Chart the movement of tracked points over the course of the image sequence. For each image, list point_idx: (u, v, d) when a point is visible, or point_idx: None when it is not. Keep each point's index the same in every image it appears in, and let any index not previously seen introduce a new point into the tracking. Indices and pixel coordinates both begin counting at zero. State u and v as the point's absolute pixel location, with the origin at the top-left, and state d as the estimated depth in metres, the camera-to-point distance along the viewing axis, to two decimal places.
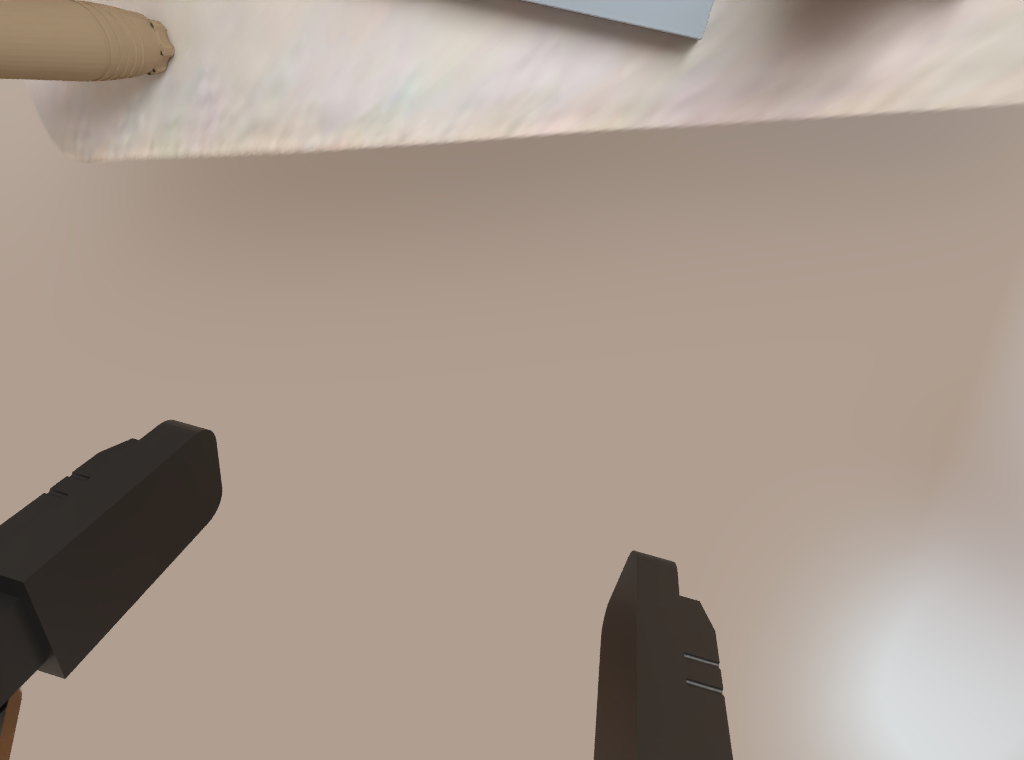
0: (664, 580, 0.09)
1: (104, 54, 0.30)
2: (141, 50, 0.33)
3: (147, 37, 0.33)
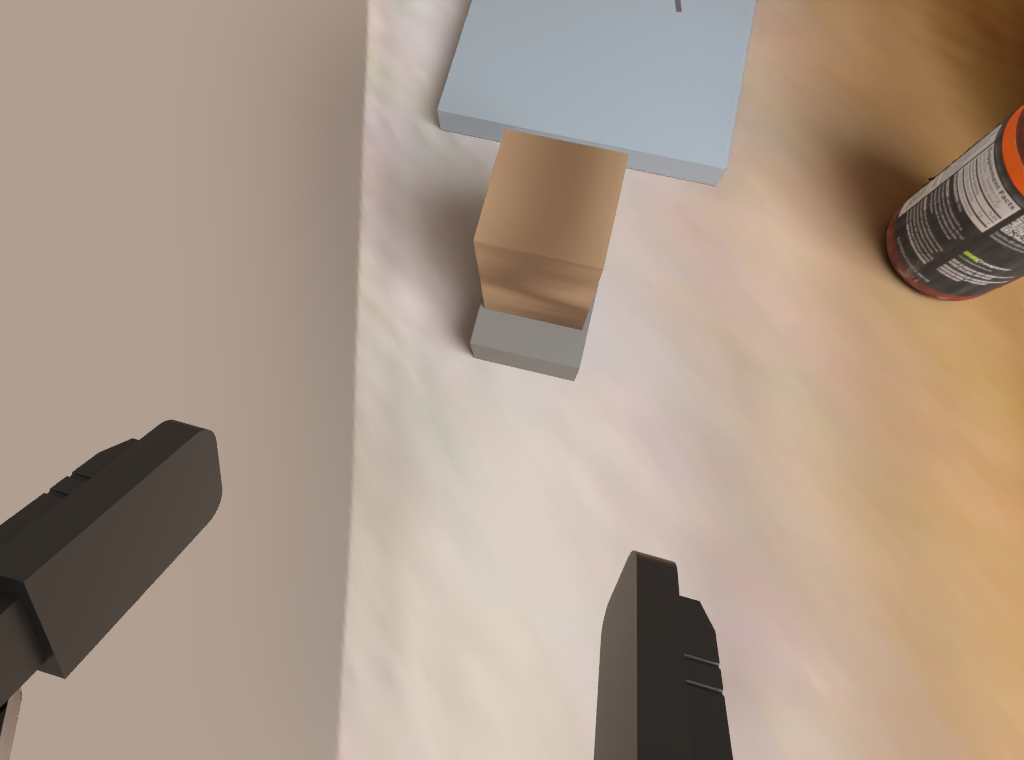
0: (664, 580, 0.09)
1: None
2: None
3: None
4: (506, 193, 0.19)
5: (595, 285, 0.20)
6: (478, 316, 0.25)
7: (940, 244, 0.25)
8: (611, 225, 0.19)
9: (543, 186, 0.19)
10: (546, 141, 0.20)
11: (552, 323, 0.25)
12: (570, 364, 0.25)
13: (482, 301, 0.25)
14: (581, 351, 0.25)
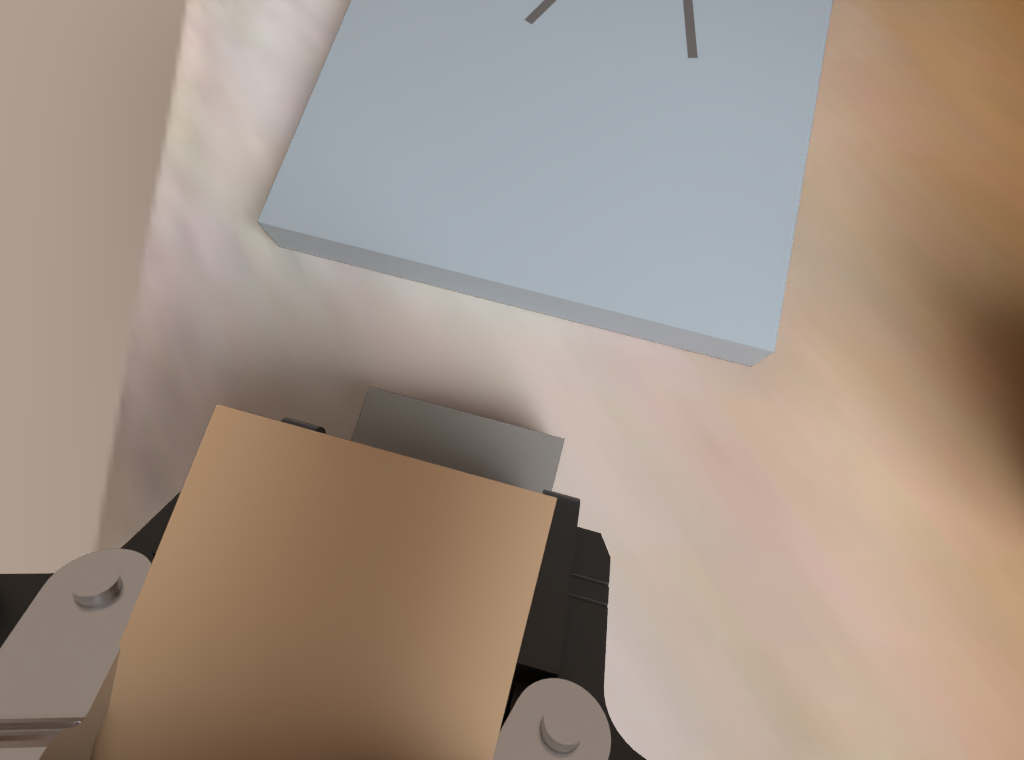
0: (565, 512, 0.10)
1: None
2: None
3: None
4: (188, 620, 0.07)
5: None
6: None
7: None
8: (490, 749, 0.06)
9: (300, 600, 0.07)
10: (327, 447, 0.07)
11: None
12: None
13: None
14: None
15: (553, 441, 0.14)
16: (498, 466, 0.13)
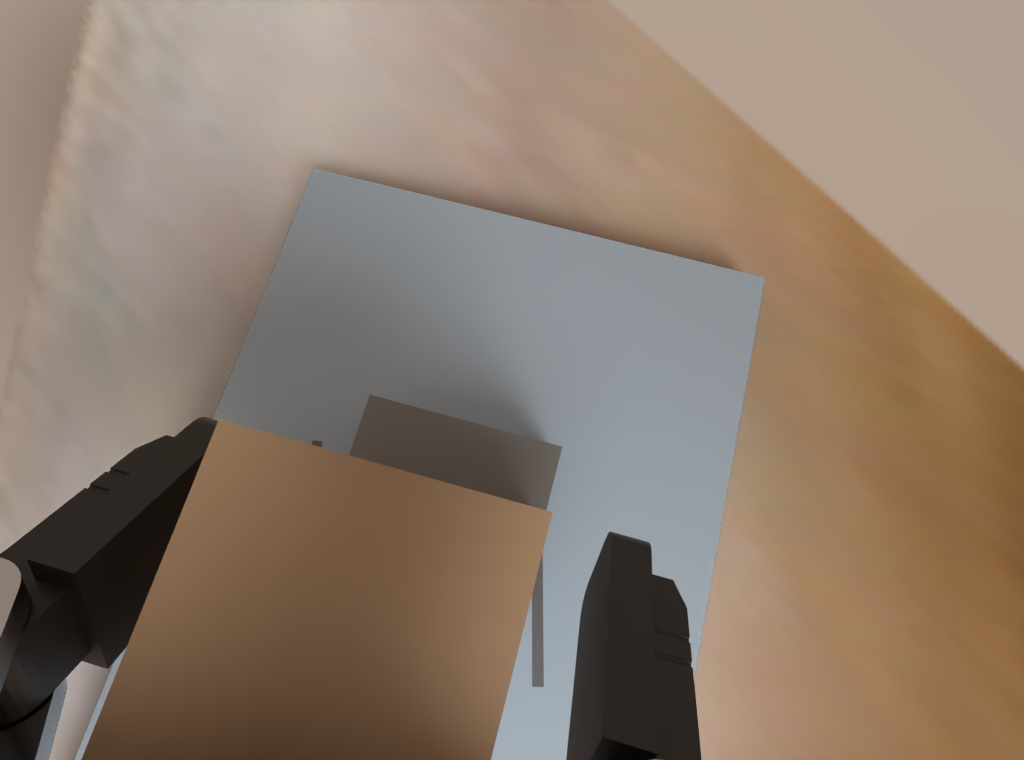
0: (638, 559, 0.09)
1: None
2: None
3: None
4: (190, 633, 0.07)
5: None
6: None
7: None
8: None
9: (300, 612, 0.07)
10: (327, 462, 0.07)
11: None
12: None
13: None
14: None
15: (551, 449, 0.14)
16: (496, 475, 0.14)
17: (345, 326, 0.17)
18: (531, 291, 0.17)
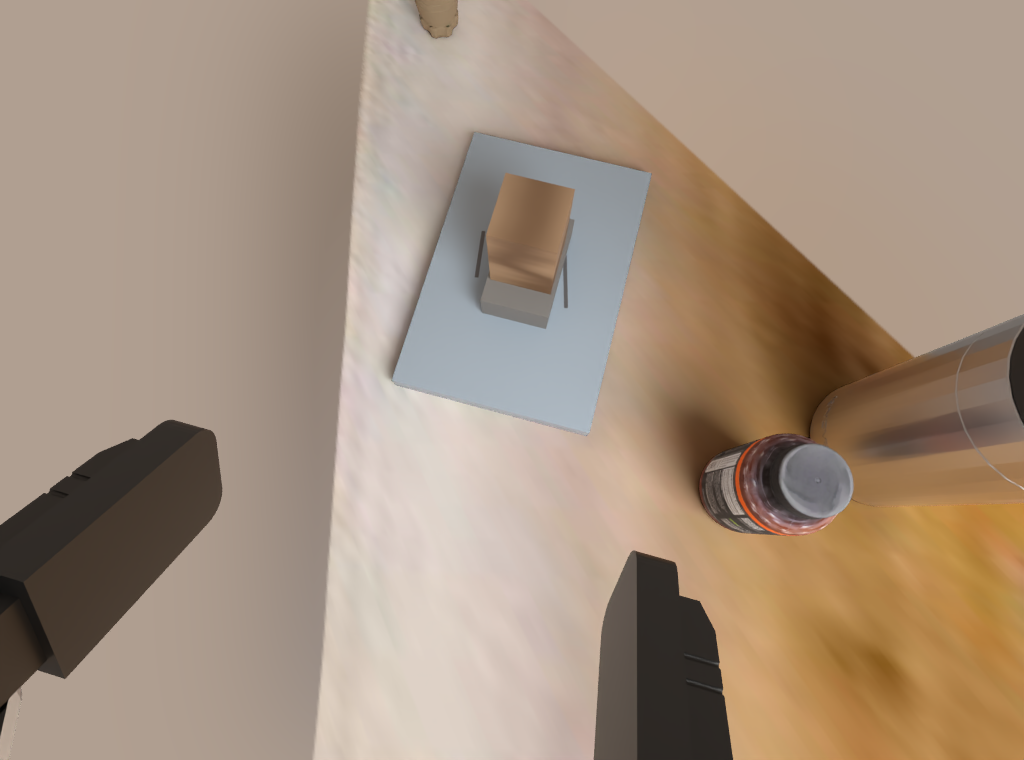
0: (664, 580, 0.09)
1: None
2: (428, 9, 0.47)
3: (437, 17, 0.48)
4: (505, 209, 0.34)
5: (554, 263, 0.35)
6: (486, 284, 0.40)
7: (718, 508, 0.37)
8: (563, 229, 0.34)
9: (526, 206, 0.34)
10: (528, 180, 0.35)
11: (532, 289, 0.40)
12: (542, 315, 0.40)
13: (489, 275, 0.40)
14: (549, 307, 0.40)
15: (571, 220, 0.41)
16: None
17: (491, 191, 0.45)
18: (561, 178, 0.45)
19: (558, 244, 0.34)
